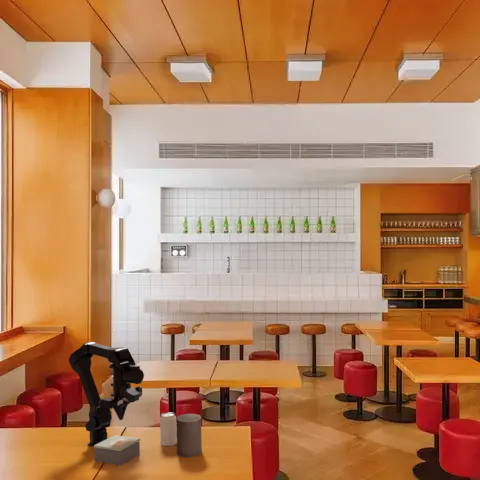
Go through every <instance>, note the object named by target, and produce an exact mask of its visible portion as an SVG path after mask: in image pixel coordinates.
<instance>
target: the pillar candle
mask: <svg viewBox="0 0 480 480" xmlns="http://www.w3.org/2000/svg"><path fill="white" fill-rule="evenodd" d="M176 430H177V443H176V454H177V456H179V457H182V458H193V457H198V456H200V455H201V454H202V452H203V451H202V449H203V447H202V444H203V442H202V438H203V437H202V416H201V415H200V414H196V413H184V414H180V415H178V416H176Z"/></svg>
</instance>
